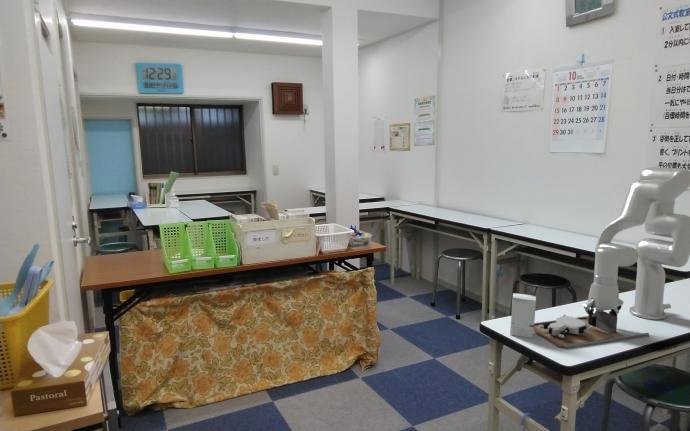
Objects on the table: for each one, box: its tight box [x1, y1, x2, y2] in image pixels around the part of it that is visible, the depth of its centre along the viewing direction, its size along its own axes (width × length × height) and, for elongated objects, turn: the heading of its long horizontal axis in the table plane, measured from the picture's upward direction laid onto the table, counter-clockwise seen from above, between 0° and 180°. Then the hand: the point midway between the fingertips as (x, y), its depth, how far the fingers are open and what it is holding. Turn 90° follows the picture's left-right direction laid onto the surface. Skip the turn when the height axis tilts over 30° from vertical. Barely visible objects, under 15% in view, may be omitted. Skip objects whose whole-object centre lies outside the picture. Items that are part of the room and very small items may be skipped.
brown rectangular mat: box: [533, 310, 625, 349], centre depth 165 cm, size 28×18×6 cm, turn 104°
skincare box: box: [509, 292, 537, 339], centre depth 165 cm, size 8×6×15 cm
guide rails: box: [534, 315, 650, 350], centre depth 167 cm, size 36×20×1 cm, turn 104°
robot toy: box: [539, 314, 592, 338], centre depth 164 cm, size 12×4×15 cm
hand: (602, 323), depth 168 cm, fingers open, 8 cm apart
